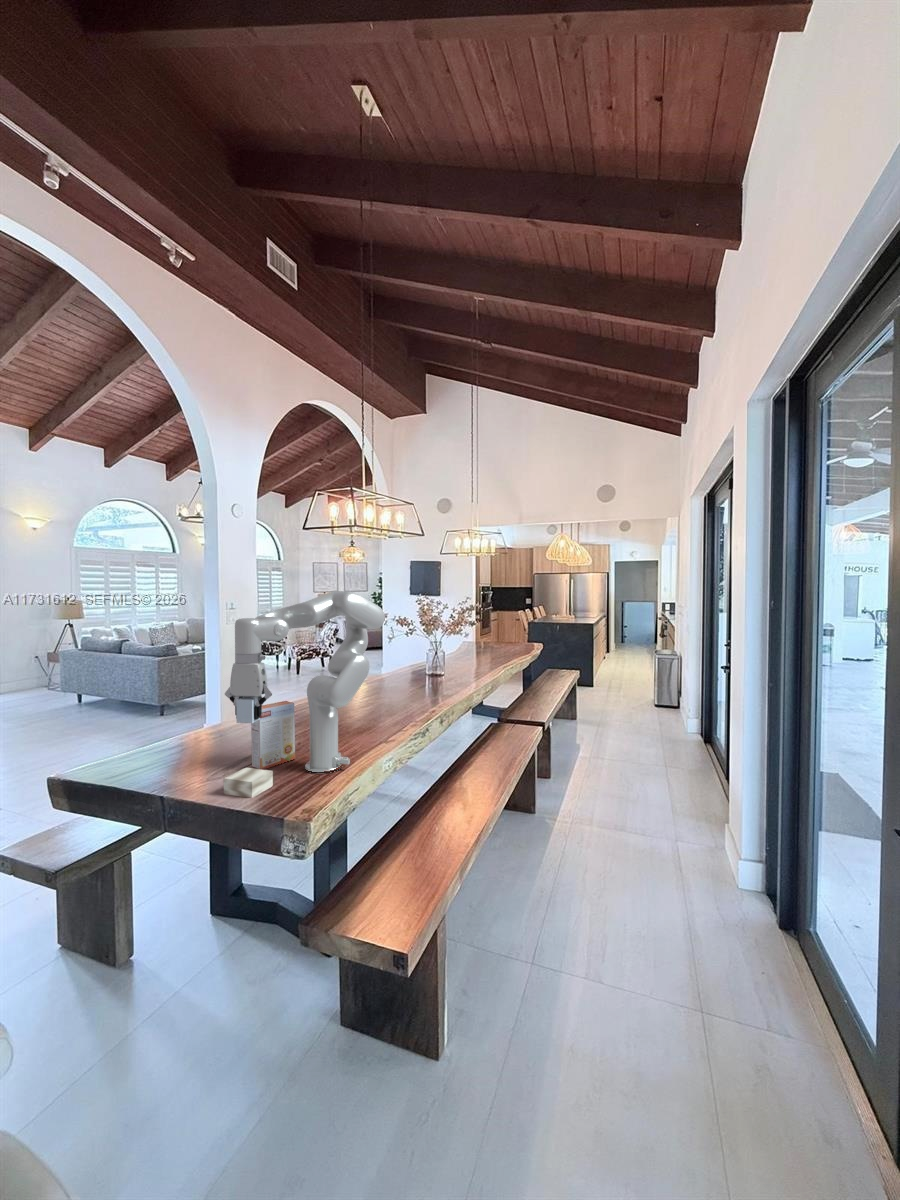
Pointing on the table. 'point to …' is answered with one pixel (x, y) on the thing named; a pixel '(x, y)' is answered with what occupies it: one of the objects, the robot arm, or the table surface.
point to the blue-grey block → (245, 710)
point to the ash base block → (248, 782)
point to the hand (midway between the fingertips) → (248, 717)
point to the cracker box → (273, 735)
